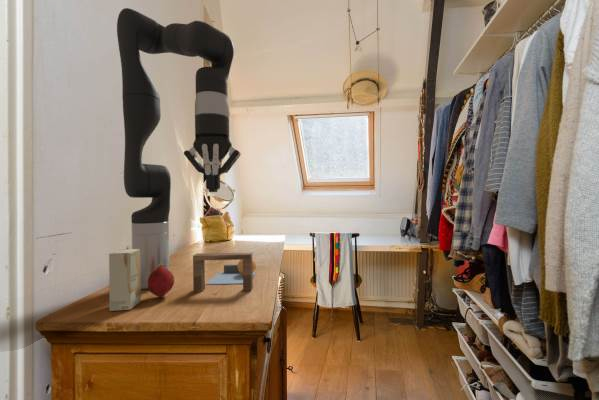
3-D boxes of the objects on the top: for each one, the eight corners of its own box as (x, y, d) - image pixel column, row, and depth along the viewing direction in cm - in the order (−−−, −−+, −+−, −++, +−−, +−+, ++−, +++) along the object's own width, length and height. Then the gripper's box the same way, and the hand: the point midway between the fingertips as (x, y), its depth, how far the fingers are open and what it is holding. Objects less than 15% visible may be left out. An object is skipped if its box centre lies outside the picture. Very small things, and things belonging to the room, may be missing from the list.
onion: (163, 302, 69) (163, 267, 69) (141, 300, 70) (141, 266, 70) (179, 294, 74) (178, 261, 74) (158, 292, 76) (157, 261, 76)
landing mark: (250, 283, 82) (249, 283, 82) (206, 284, 82) (206, 283, 82) (255, 273, 94) (255, 272, 94) (217, 273, 94) (217, 273, 94)
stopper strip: (223, 273, 95) (223, 265, 95) (224, 272, 96) (224, 264, 96) (249, 273, 95) (249, 265, 95) (249, 272, 96) (249, 264, 96)
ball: (238, 254, 94) (239, 271, 95) (235, 261, 89) (237, 279, 90) (255, 254, 94) (256, 270, 95) (254, 260, 89) (255, 278, 90)
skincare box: (130, 310, 64) (130, 252, 64) (108, 312, 63) (107, 253, 63) (142, 300, 70) (141, 248, 70) (121, 301, 69) (120, 248, 69)
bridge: (251, 290, 76) (250, 254, 76) (193, 292, 76) (192, 255, 76) (252, 287, 79) (252, 252, 79) (197, 288, 79) (196, 253, 79)
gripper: (176, 111, 65) (177, 192, 65) (238, 111, 65) (239, 191, 65) (188, 120, 72) (189, 192, 72) (243, 120, 73) (244, 192, 73)
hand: (213, 191), depth 69 cm, fingers closed
